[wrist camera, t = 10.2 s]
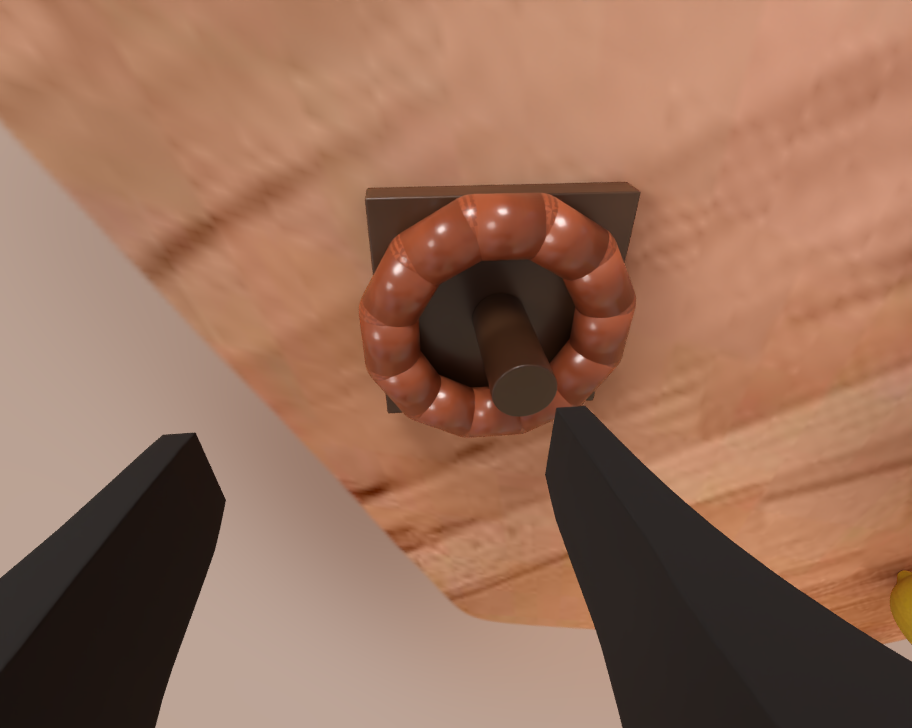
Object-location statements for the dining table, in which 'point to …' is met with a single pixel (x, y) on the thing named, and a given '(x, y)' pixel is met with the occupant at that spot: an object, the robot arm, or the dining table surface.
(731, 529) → the dining table surface
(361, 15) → the dining table surface
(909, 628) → the lemon
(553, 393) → the stand
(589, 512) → the robot arm
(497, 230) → the hoop
